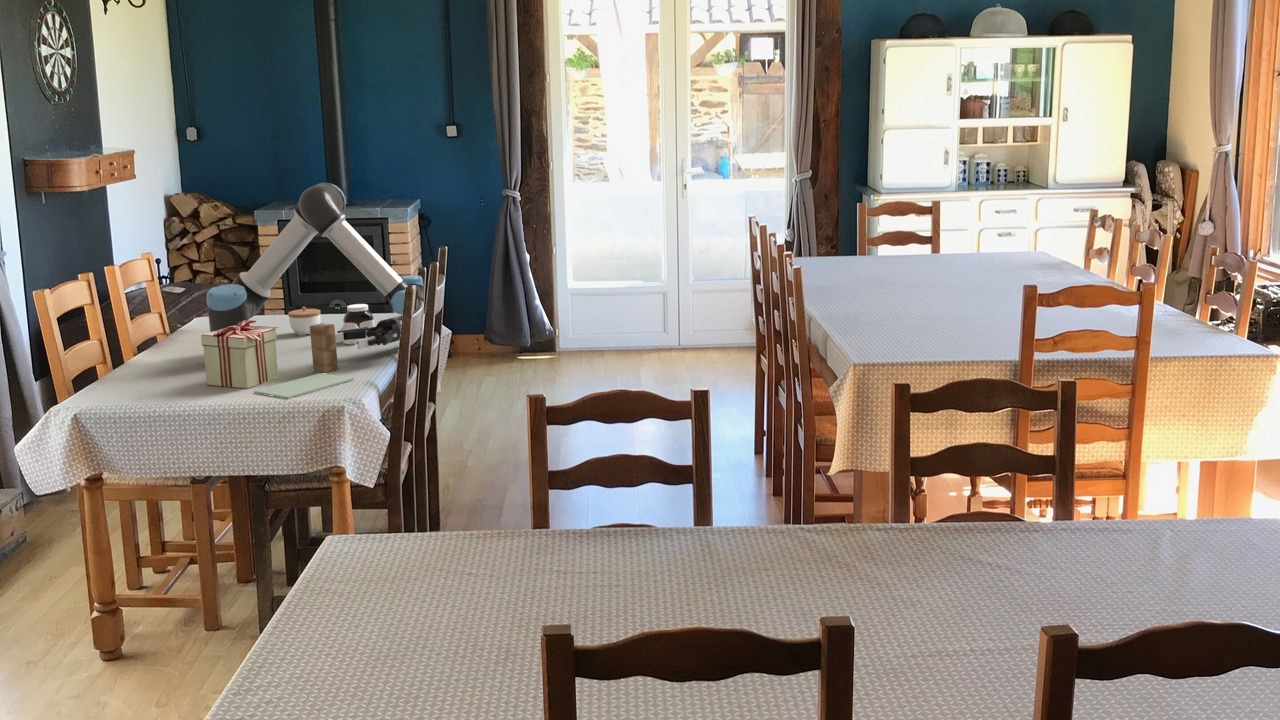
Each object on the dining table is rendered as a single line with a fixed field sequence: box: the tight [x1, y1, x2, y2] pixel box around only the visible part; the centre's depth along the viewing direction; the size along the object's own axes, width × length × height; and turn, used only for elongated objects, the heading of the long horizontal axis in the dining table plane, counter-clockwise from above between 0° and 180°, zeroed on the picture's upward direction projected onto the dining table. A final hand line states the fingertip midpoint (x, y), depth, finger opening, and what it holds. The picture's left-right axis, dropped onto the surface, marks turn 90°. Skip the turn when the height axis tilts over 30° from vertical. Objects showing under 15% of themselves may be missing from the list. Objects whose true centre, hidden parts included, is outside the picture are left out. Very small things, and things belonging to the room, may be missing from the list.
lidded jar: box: [287, 306, 322, 336], centre depth 421 cm, size 11×11×9 cm
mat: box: [254, 373, 355, 399], centre depth 346 cm, size 24×14×1 cm, turn 146°
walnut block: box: [309, 322, 339, 374], centre depth 363 cm, size 5×5×14 cm
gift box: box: [200, 319, 280, 389], centre depth 353 cm, size 17×18×17 cm
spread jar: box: [339, 303, 376, 345], centre depth 405 cm, size 12×11×12 cm
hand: (342, 342), depth 368 cm, fingers open, 13 cm apart
